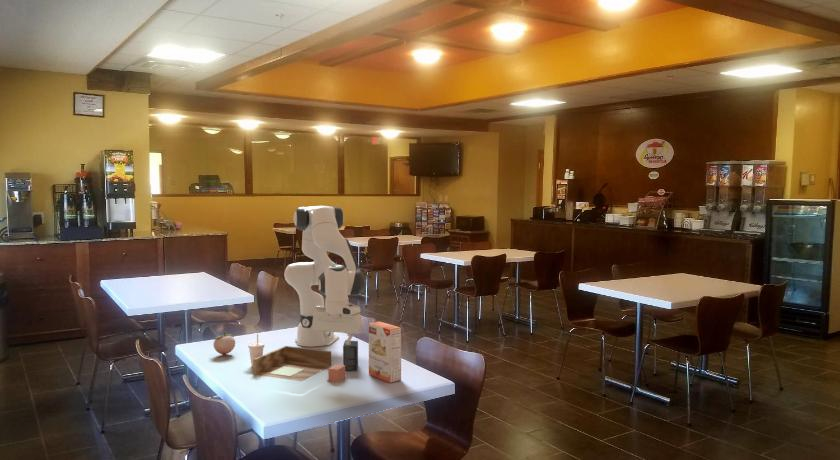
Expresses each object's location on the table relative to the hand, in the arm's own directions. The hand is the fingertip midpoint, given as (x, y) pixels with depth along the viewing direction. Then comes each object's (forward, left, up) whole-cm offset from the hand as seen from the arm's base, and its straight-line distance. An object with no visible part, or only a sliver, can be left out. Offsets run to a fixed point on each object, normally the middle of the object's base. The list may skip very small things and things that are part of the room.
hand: (337, 343), depth 228 cm
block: (0, 0, -14) cm, 14 cm away
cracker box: (-9, +16, -14) cm, 23 cm away
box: (-15, -2, -14) cm, 21 cm away
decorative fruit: (-11, -62, -14) cm, 65 cm away
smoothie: (-1, -38, -14) cm, 41 cm away
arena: (-2, -21, -14) cm, 26 cm away
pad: (+1, -22, -13) cm, 26 cm away
